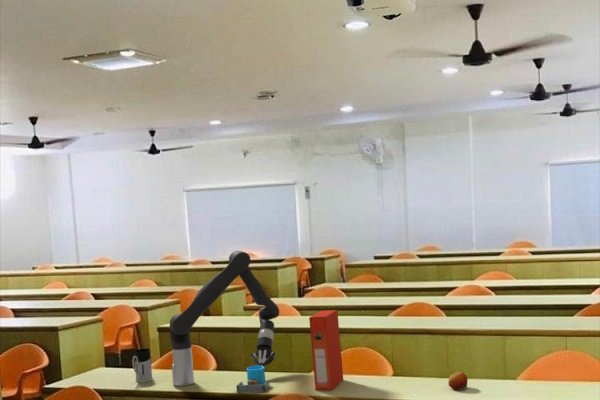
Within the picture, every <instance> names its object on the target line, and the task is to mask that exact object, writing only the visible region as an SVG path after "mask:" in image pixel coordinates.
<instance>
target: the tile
mask: <svg viewBox="0 0 600 400" xmlns="http://www.w3.org/2000/svg"><path fill="white" fill-rule="evenodd" d="M246 385H259V383H258V379H250V380H249V381H248V380H247V383H246Z"/></svg>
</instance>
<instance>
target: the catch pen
mask: <svg viewBox="0 0 600 400" xmlns="http://www.w3.org/2000/svg"><path fill="white" fill-rule="evenodd" d="M243 383H244V382H243V381H240V382H239V383H238V384H236V386H235V387H236V393H265V392H267V390H268V389H269V387H270V385H269V381H268V380H265V383H264V384H263V385H248V384H243Z"/></svg>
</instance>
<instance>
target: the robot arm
mask: <svg viewBox="0 0 600 400" xmlns="http://www.w3.org/2000/svg"><path fill="white" fill-rule="evenodd" d="M228 262H229V263H228V264H227V266H226V267H225V268H224V269H223V270H221V271H220V272H218V273H217V274H216V275H214V276H212V277H211V278H210V279H209V280H208V281H207V282H205V284H204V285H203V286H201V288H200V289H199V290H198V292H197V293H196V295H195V297H194V298H193V300H192V302H191V303H190V305H188V307H186V309H185V310H184V311H183V312H181V313H176V314H174V315H173V316H172V317H171V318H170V321H169V333H170V334H169V335H170V343H171V351H172V362H173V364H171V373H172V385H173V386H177V387H184V386H189V385H190V386H191V385H192V384H194V383H195V375H194V365H193V363H194V362H193V348H192V347H193V346H192V340H191V336H190V330H191V329H192V327H193V326H194V324H195V323H196V322H197V320H198V319H199V318H200V317H201V316H202V315H203V314H204V313H205V312H206V311H207V310H208V309H209V308H210V307H211V306H212V305H213V304H214V303H215V302H216V301H217V300H218V299H219V298H220V296H221V295H223V293H224V292H225V291H226V290H227V289H228V288H229V286H230V285H231V284H232V283H233V282H234V280H236V278H238V276H239V277H240V279H241V280H242V282H243V283H244V285H245V287H246V288H247V291H248V292H249V293H250V296H251V297H252V299H253V300H254V303H255V304H256V305H257V306H263V307H261V308H260V309H259V310H258V318H259V332H258V336H257V342H256V349H255V351H254V352H253V353H250V357H251V359H252V360H253V362H254V363H255V365H256V366H264V371H265V370H266V365H268V366H269V365H270V364H271V363H272V362H273V361H274V360H275V359H276V358H277V355H276V353H275V352H273V350H272V349H273V344H274V343H273V342H274V332H275V323H274V321H272V320H273V319H276V318H278V317H279V315H280V308H279V306H278V305H277V304H276V302H275V301H273V300H272V299H271V297H269V296H268V294H267V293H266V290H265V289H264V287H263V286H262V284H261V283H260V281H259V280H258V279H257V278H256V276H255V275H254V274H253V272H252V270H251V268H250V265H251V257H250V255H249V254H248V253H247V252H245V251H242V250H234V251H232V252H231V253H230V255H229V256H228ZM257 358H258V360H257Z"/></svg>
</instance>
